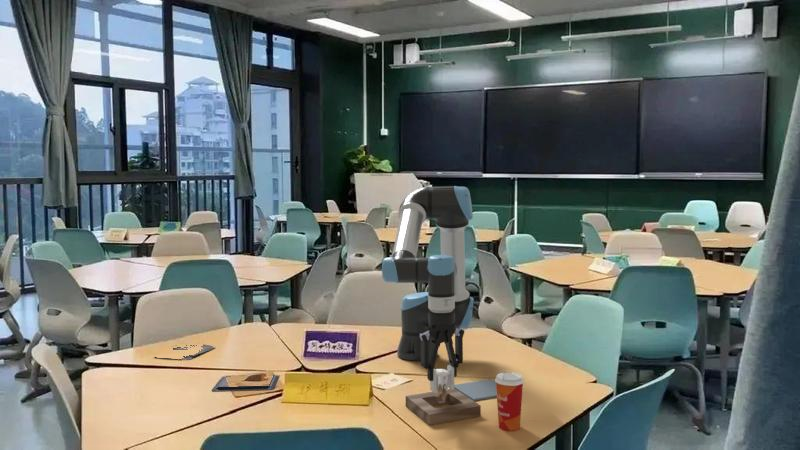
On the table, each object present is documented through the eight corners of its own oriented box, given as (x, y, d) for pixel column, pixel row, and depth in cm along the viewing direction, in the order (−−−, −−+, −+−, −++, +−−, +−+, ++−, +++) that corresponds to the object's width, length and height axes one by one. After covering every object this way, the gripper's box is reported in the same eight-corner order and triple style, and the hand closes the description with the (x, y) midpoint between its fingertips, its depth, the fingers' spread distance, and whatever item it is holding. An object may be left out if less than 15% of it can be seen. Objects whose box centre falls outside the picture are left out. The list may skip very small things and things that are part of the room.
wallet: (209, 387, 202) (222, 373, 217) (210, 393, 202) (222, 378, 217) (273, 386, 202) (281, 372, 218) (273, 392, 203) (281, 377, 218)
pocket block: (405, 405, 188) (405, 395, 187) (453, 397, 194) (453, 388, 194) (429, 425, 173) (429, 414, 173) (480, 415, 179) (480, 405, 179)
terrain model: (187, 363, 236) (187, 354, 236) (154, 360, 241) (153, 351, 240) (219, 348, 255) (219, 340, 255) (187, 346, 260) (187, 338, 260)
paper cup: (491, 422, 175) (491, 372, 174) (519, 420, 175) (519, 371, 174) (498, 433, 167) (498, 381, 166) (527, 432, 168) (527, 380, 167)
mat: (451, 386, 204) (451, 385, 204) (489, 380, 209) (489, 379, 209) (473, 401, 191) (473, 399, 191) (513, 394, 196) (513, 392, 196)
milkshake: (450, 404, 181) (450, 369, 180) (431, 402, 182) (432, 368, 181) (452, 398, 185) (452, 364, 184) (434, 397, 186) (434, 363, 185)
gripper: (418, 316, 174) (419, 398, 176) (475, 309, 181) (476, 389, 183) (407, 310, 181) (408, 390, 183) (463, 304, 188) (463, 381, 190)
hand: (442, 389), depth 183 cm, fingers closed on milkshake, 5 cm apart
